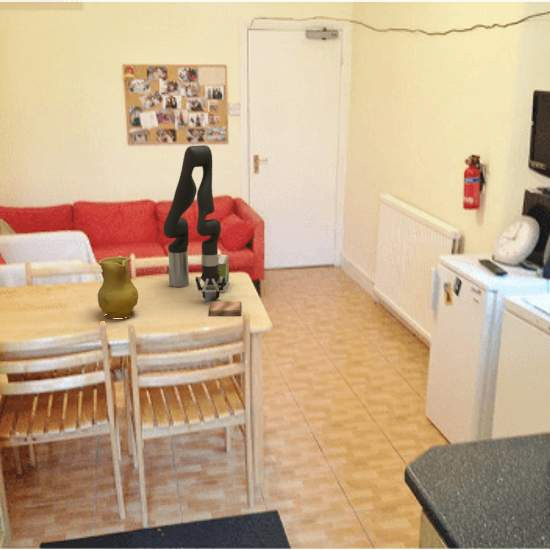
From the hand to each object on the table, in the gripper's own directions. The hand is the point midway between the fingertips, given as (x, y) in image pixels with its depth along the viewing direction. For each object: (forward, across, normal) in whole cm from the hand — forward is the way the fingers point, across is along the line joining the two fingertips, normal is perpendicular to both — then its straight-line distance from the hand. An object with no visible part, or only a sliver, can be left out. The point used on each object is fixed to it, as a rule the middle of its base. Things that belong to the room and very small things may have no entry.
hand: (211, 298), depth 310 cm
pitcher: (+2, +39, +14) cm, 42 cm away
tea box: (+2, -2, -19) cm, 19 cm away
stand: (+1, -7, +12) cm, 14 cm away
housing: (+1, 0, 0) cm, 1 cm away
